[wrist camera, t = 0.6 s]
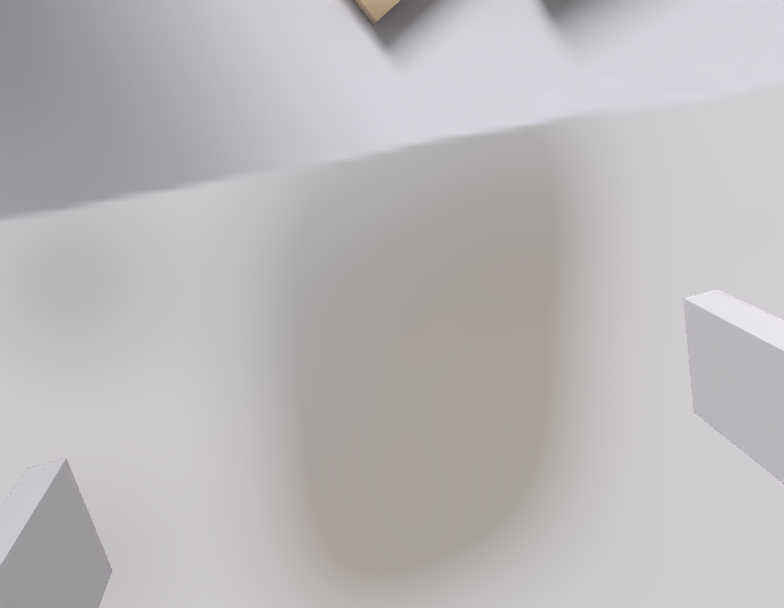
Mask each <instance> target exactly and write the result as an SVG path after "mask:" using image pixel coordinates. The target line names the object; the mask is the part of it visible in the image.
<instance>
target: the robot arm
mask: <svg viewBox="0 0 784 608" xmlns="http://www.w3.org/2000/svg"><path fill="white" fill-rule="evenodd" d="M683 300H684V310H685V320H686V332H687V343H688V353H689V364H690V375H691V386H692V396H693V407H694V413H695V414H696V415H698V416H699V417H700V418H701V419H703V420H704V421H705V422H706V423H708V424H709V425H710V426H712V427H713V428H714V429H715V430H716V431H718V432H719V433H720V434H722V435H723V436H724V437H725V438H727V439H728V440H729V441H730V442H732V443H733V444H734V445H736V446H737V447H738V448H739V449H740V450H742V451H743V452H744V453H746V454H747V455H748V456H749V457H751V458H752V459H753V460H754V461H755V462H757V463H758V464H759V465H761V466H762V467H763V468H764V469H766V470H767V471H768V472H769V473H771V474H772V475H773V476H775V477H776V478H777V479H778V480H779V481H781V482H782V483H783V484H784V320H782V319H780V318H777V317H775V316H773V315H771V314H769V313H767V312H765V311H763V310H760V309H758V308H756V307H754V306H752V305H750V304H747V303H745V302H743V301H741V300H739V299H737V298H734V297H732V296H730V295H728V294H725V293H723V292H721V291H719V290H714V291H710V292H706V293H702V294H698V295H694V296H690V297H687V298H683ZM111 572H112V568H111V566H110V563H109V561H108V559H107V556H106V554H105V551H104V549H103V546H102V544H101V542H100V539H99V537H98V534H97V532H96V530H95V527H94V525H93V522H92V520H91V518H90V515H89V513H88V510H87V508H86V505H85V503H84V501H83V498H82V496H81V493H80V491H79V488H78V486H77V483H76V481H75V479H74V477H73V474H72V471H71V469H70V467H69V464H68V462H67V459H62V460H59V461H54V462H50V463H47V464H42V465H39V466H35V467H31V468H28V469H27V470H26V472H25V473H24V474H23V476H22V477H21V479H20V480H19V482H18V483H17V484H16V486H15V487H14V489H13V490H12V492H11V493H10V495H9V496H8V497H7V499H6V500H5V502H4V503H3V505H2V506H1V507H0V608H98V607H99V604H100V602H101V599H102V597H103V594H104V591H105V588H106V586H107V583H108V580H109V578H110V575H111Z"/></svg>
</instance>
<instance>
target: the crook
mask: <svg viewBox="0 0 784 608" xmlns="http://www.w3.org/2000/svg"><path fill="white" fill-rule="evenodd" d="M354 1H355V2H356V4H357V5H358V6H359V8H360V9H361V10H362V11H363V13H364V14H365V15H366V16H367V18H368V19H369V20H370V22H371V23H372V24H375V23H376V22H377V21H378V20H379V19H380V18H381V17H383V16H384V15H385V14H386V13H387V12H388V11H389V10H390V9H391V8H392V7H394V6H395V5H396V4H397V3H398V2H399V1H400V0H354Z"/></svg>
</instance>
